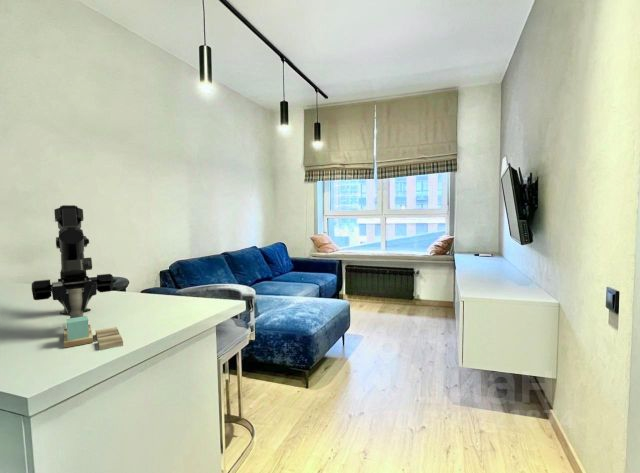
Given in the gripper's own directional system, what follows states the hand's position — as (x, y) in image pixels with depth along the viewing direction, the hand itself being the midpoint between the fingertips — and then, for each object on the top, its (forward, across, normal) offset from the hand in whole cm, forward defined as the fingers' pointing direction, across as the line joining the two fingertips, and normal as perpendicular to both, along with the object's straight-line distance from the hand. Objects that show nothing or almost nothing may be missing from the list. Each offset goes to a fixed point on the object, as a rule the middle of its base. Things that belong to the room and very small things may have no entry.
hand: (76, 311), depth 96 cm
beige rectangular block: (+12, +6, -2) cm, 13 cm away
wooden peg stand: (+7, 0, +2) cm, 7 cm away
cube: (+8, 0, -1) cm, 8 cm away
